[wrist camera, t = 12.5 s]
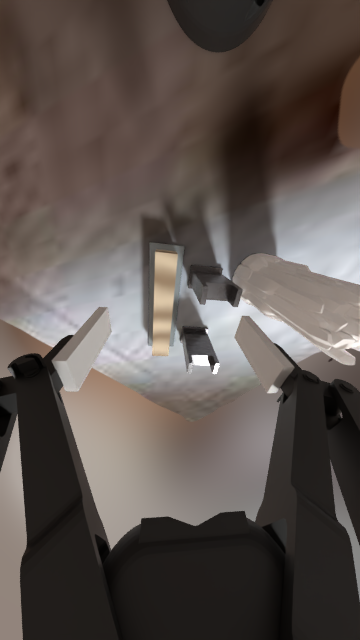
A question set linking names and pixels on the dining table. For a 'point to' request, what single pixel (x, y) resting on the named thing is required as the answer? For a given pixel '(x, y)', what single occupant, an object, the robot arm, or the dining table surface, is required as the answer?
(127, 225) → the dining table surface
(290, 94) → the dining table surface
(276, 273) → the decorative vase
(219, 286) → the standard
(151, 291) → the mat
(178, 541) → the robot arm
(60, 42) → the dining table surface
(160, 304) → the rail
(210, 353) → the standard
